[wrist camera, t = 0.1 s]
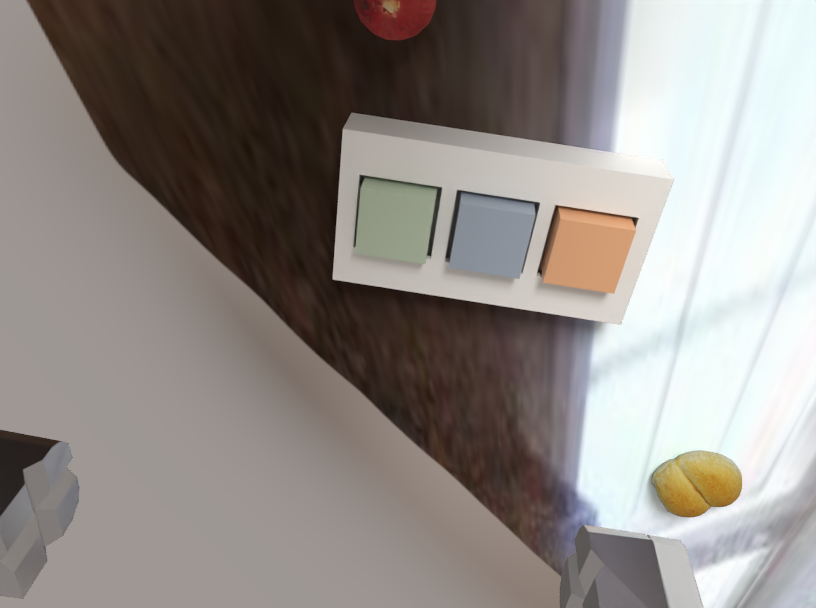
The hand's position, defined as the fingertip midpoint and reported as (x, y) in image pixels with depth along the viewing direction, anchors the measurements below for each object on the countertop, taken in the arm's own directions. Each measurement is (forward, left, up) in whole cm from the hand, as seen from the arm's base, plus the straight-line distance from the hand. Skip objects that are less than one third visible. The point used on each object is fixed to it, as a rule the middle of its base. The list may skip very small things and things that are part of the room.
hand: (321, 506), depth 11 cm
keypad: (+17, +6, -48) cm, 51 cm away
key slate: (+17, +6, -45) cm, 49 cm away
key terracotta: (+17, +14, -45) cm, 50 cm away
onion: (0, -4, -48) cm, 48 cm away
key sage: (+17, -2, -45) cm, 49 cm away
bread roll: (+45, +34, -48) cm, 75 cm away
